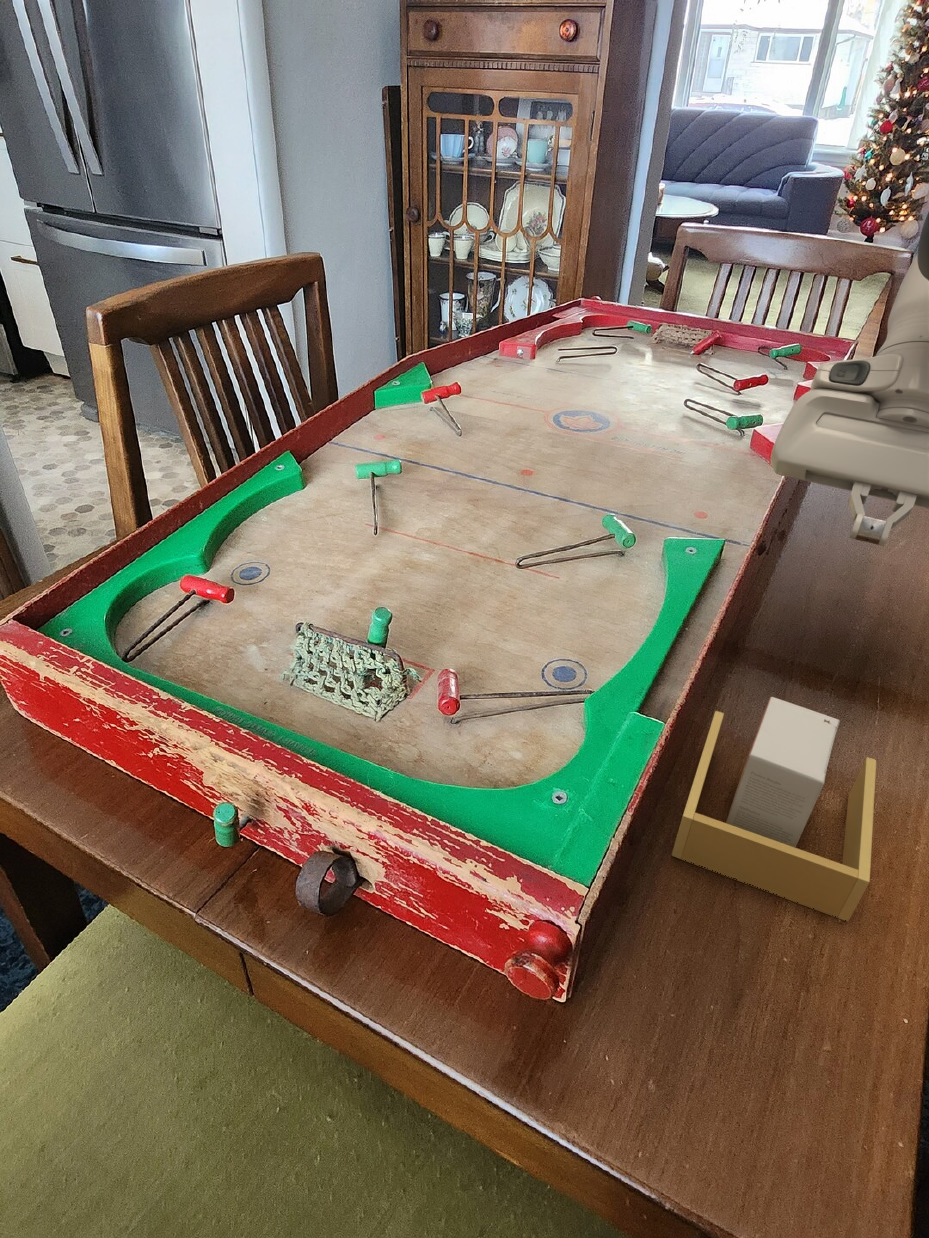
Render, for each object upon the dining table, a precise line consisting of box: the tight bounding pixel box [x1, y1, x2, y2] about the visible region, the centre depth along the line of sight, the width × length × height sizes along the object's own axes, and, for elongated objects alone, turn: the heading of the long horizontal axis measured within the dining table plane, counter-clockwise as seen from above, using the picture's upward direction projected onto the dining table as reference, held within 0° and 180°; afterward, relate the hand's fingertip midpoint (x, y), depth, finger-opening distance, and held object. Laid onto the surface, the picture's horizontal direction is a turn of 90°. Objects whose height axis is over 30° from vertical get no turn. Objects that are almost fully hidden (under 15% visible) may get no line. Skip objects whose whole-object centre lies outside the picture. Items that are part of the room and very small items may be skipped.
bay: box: [671, 710, 877, 923], centre depth 65 cm, size 14×14×5 cm
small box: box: [725, 696, 841, 848], centre depth 64 cm, size 8×6×10 cm
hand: (867, 540), depth 68 cm, fingers closed
